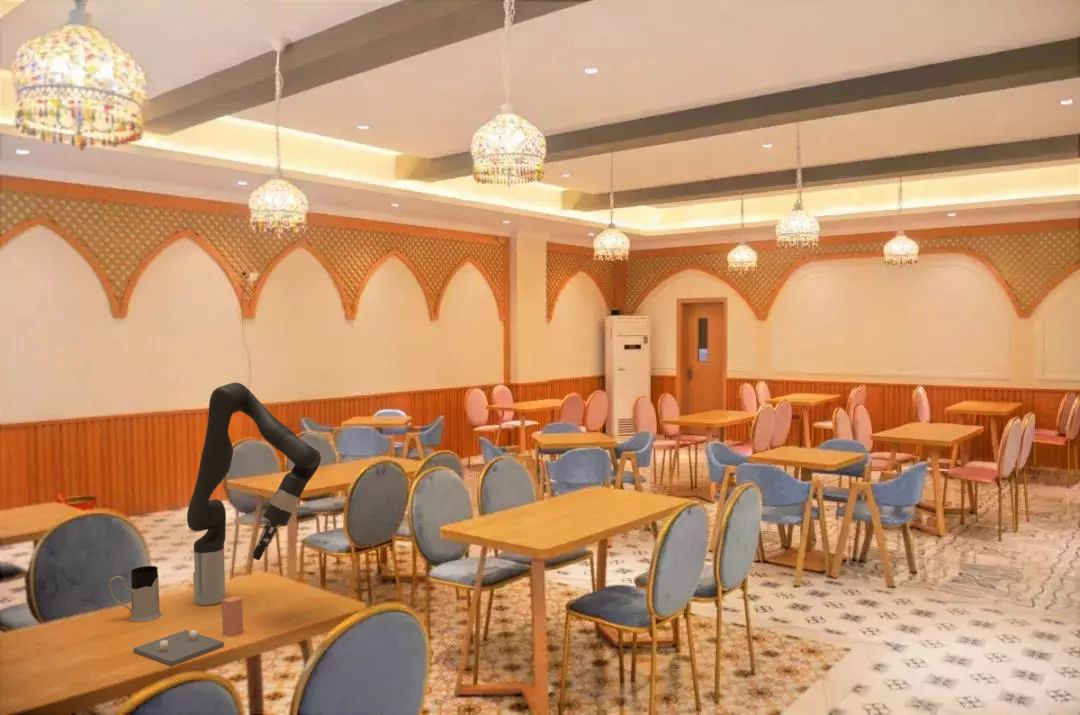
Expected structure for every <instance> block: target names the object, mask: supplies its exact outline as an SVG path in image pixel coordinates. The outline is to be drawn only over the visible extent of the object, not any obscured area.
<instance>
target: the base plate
mask: <svg viewBox="0 0 1080 715" xmlns="http://www.w3.org/2000/svg"><path fill="white" fill-rule="evenodd" d="M223 647H225V642H224V641H221V640H219V639H215V638H212V637H209V636H205V635H203V634H199V633H198V630H197V629H192V630H186V629H185V630H183V631H182V630H181V631H178V632H176V633H173V634H170V635H168V636H164V637H162V638H159V639H156V640H153V641H150V642H146V643H144V644H141V645H138V646H135V647H133V650H132V651H133V653H134V654H138V655H139V656H143V657H146V658H149V659H152V660H154V661H157V662H159V663H163V664H165V665H168V666H170V667H173V666H176V665H178V664H181V663H183V662H186V661H188V660H189V661H190V660H191V659H194V658H196V657H199V656H201V655H205V654H207V653H210V652H212V651H216V650H218V649H221V648H223Z"/></svg>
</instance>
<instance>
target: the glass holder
mask: <svg viewBox="0 0 1080 715" xmlns="http://www.w3.org/2000/svg"><path fill="white" fill-rule="evenodd" d="M158 572H159V570H158V566H156V565H155V566H154V565H144V566H140V567H136V568H132V569H131V570H130V574H131V576H130V577H131V580H130V581H131V587H127V583H126V580H125V578H124V577H122V576H120V575H118V576H117V575H116V576H114V577H112V578H111V579H110V581H109V592H110V594H111V596H112V598H113V599H114V601H115V602H117V603H118V604H120V605H121V606H122V607H124V608H126V609H128V610H129V611H130V614H131V616H130V619H129V620H130V621H131V622H135V623H142V622H150V621H154V620H156V619H159V618H160V617H162V613H161V611H160V584H159V583H160V582H159V573H158ZM116 578H117V579H118V578H119V579H121V580H122V581H123V583H124V585H123V586H124V588H125V590H130V594H131V595H130V600H131V603H130V604H131V608H130V607H129V606H127V605H126V604H124V603H122V602H121V601H119V600H118V599H117V598H116V597H115V595H114V593H113V591H112V581H113V580H114V579H116Z"/></svg>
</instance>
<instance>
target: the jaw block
mask: <svg viewBox="0 0 1080 715" xmlns="http://www.w3.org/2000/svg"><path fill="white" fill-rule="evenodd" d="M221 612H222V614H221V616H222V618H221V619H222V620H221V621H222V634H223V635H227V636H230V637H233V636H235V635H238V634H242V633H244V624H243V623H244V622H243V621H244V618H243V616H244V615H243V598H242V597H238V596H234V595H233V596H230V597H227V598H226V597H225V599H223V600H222V602H221Z"/></svg>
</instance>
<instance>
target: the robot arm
mask: <svg viewBox="0 0 1080 715" xmlns="http://www.w3.org/2000/svg"><path fill="white" fill-rule="evenodd" d="M239 412H242V413H243V414H245V415H246V416H248V417H249V418H251V419H252V421H253V422H254V423H255V425H256V427H257V429H258V431H259V433H260V435H261V436H262V437H263V439H264V440H265V441H266V442H267V443H268V444H270V445H271V446H273V447H274V448H275V449H276V450H277V451H279V452H280V453H283V455H285V456H286V457H287V459H289V460H290V462H292V463H294V466H293V468H292V469H291V471H290V472H288V473H286V474H285V475H284V477H283V478H282V481H281V482H280V484H279V486H278V488H277V490H276V491H275V493H274V494H273V495H272V498H271V500H270V502H269V503H268V505H267V508H266V510H265V511H264V513H263V518H265V519H267V520H269V521H268V522H266V524H264V526H263V528H262V531H261V533H260V535H259V539H258V543H257V545H256V546H255V549H254V551H253V552H252V554H253V556H252V558H253V559H255V560H257V561H260V560H261V559H262V556H263V555H264V552H265V550H266V549H267V548H268V547H269V545H270V544H271V543H272V541H273V539H274V538H275V536H276V534H277V532H278V529H277V526H278V525H280V526H283V527H286V526H287V525H288V523H289V522H290V519H291V517H292V515H293V514H294V511H295V509H296V508H297V505H298V503H299V500H300V498H301V496H302V494H303V492H304V490H305V488H306V486H307V484H308V483H309V482H310V480H311V479H312V478H313V476H314V474H315V473H316V471H317V470H318V469H319V467H320V464H321V461H322V460H321V459H322V456H321V454H320V452H319V451H318V450H317V449H316V448H314V447H312V446H311V445H309V444H308V443H307V442H305V441H304V440H302V439H301V438H299V437H298V435H297V434H296V433H295V432H294V431H292V430H291V429H290V428H289V427H287V426H286V425H285V424H283V422H281V421H280V420H279V419H277V417H275V416H274V415H273V414H272V413H271V412H270V411H269V410H268V409H267V408H266V407H265V406H264V404H262V403H261V401H260V400H259V399H258V398H257V397H256V396H255V395H254V394H253V393H252V392H251V390H250V389H249V388H248V387H246V385H244V384H243V383H240V382H231V383H227V384H224V385H221V386H218V387H216V388H215V389H214V390H213V391H212V392H211V394H210V397H209V405H208V415H207V426H206V431H205V432H206V433H205V437H204V442H203V448H202V452H201V457H200V461H199V467H198V474H197V476H196V482H195V486H194V490H193V492H192V495H191V499H190V501H189V504H188V509H187V513H186V515H187V516H186V522H187V526H188V529H190V530H191V531H192V532H201V531H206V532H205V534H203V535H202V536H201V537H199V538H198V539H197V540H196V541H194V544H193V562H194V563H193V565H194V566H193V567H194V571H193V576H192V578H193V579H192V580H193V582H192V583H193V601H194V602H195V605H197V606H212V605H218V604H220V603H221V604H222V600H223V599H226V572H225V571H226V569H225V564H226V563H225V541H226V530H227V529H226V527H227V526H226V525H227V524H226V523H227V515H226V514H227V513H226V507H225V505H224V502H222V501H221V500H220V499H211V495H212V494H213V493H214V491H215V490H216V489H217V487H218V486H219V485H220V484H221V483H222V481H223V480H224V479H225V478H226V476H227V475H228V473H229V472H230V469H231V465H232V462H233V461H232V460H233V455H234V447H233V444H232V443H233V442H232V441H231V439H230V435H229V428H230V422H231V420H232V416H233V415H234V414H236V413H239Z"/></svg>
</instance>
